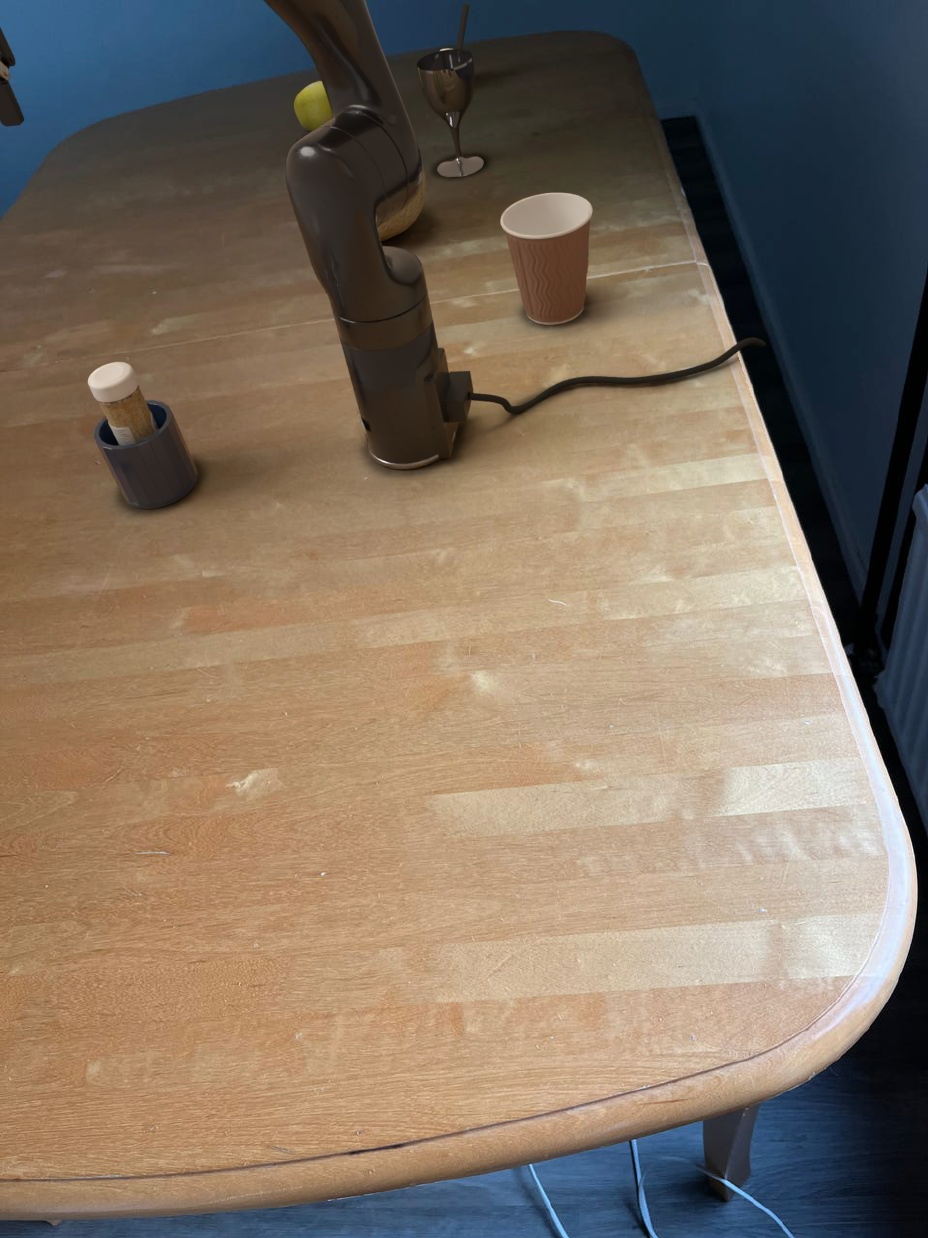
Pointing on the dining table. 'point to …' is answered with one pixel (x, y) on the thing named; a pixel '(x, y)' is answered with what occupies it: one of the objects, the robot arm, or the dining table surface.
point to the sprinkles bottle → (122, 402)
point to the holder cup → (150, 462)
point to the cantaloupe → (404, 215)
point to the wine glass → (450, 100)
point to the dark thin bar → (462, 26)
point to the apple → (312, 106)
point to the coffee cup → (550, 254)
